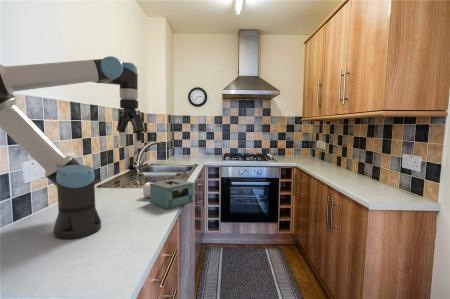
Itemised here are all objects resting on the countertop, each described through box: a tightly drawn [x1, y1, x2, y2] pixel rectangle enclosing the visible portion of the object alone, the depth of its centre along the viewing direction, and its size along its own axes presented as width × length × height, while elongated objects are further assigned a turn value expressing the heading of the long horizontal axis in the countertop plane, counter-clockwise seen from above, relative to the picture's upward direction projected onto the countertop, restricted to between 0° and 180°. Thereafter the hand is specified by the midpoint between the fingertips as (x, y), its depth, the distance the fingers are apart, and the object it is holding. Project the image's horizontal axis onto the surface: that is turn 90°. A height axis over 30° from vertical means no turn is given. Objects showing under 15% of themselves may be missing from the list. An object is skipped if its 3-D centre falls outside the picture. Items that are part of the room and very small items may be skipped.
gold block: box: [171, 184, 183, 199], centre depth 127 cm, size 6×3×7 cm, turn 48°
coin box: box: [149, 178, 194, 210], centre depth 127 cm, size 16×14×10 cm
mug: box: [142, 182, 151, 198], centre depth 138 cm, size 12×10×8 cm
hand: (130, 147), depth 114 cm, fingers open, 13 cm apart
